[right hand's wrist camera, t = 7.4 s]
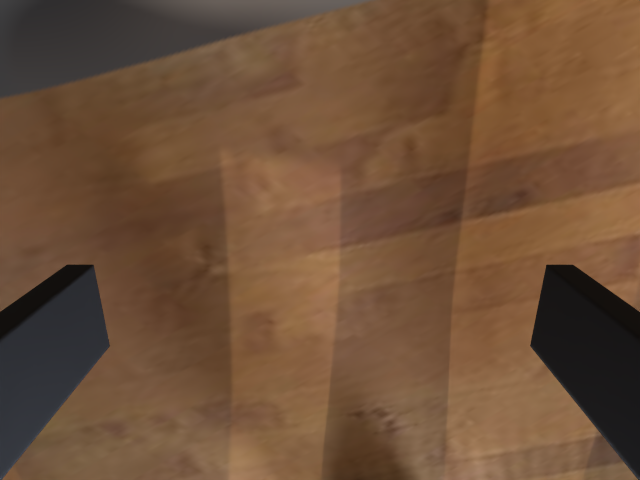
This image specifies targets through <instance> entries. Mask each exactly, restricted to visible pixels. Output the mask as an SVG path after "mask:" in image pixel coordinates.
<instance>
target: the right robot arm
mask: <svg viewBox="0 0 640 480" xmlns="http://www.w3.org/2000/svg"><path fill="white" fill-rule="evenodd" d="M109 346H110V345H109V340H108V335H107V330H106V325H105V320H104V315H103V310H102V305H101V300H100V295H99V290H98V285H97V280H96V275H95V270H94V265H66V266H65V267H63V268H62V269H60V270H59V271H58V272H56V273H55V274H53V275H52V276H51V277H49V278H48V279H46V280H45V281H43V282H42V283H41V284H39V285H38V286H36V287H35V288H34V289H32V290H31V291H29V292H28V293H26V294H25V295H24V296H22V297H21V298H19V299H18V300H17V301H15V302H14V303H12V304H11V305H10V306H8V307H7V308H5V309H4V310H2V311H1V312H0V480H2V479H3V477H4V476H5V475H6V474H7V472H8V471H9V470H10V469H11V468H12V466H13V465H14V464H15V463H16V461H17V460H18V459H19V458H20V456H21V455H22V454H23V453H24V451H25V450H26V449H27V448H28V447H29V445H30V444H31V443H32V442H33V440H34V439H35V438H36V437H37V435H38V434H39V433H40V432H41V430H42V429H43V428H44V427H45V425H46V424H47V423H48V422H49V421H50V419H51V418H52V417H53V416H54V414H55V413H56V412H57V411H58V409H59V408H60V407H61V406H62V404H63V403H64V402H65V401H66V399H67V398H68V397H69V396H70V395H71V393H72V392H73V391H74V390H75V388H76V387H77V386H78V385H79V383H80V382H81V381H82V380H83V378H84V377H85V376H86V375H87V374H88V372H89V371H90V370H91V369H92V367H93V366H94V365H95V364H96V362H97V361H98V360H99V359H100V357H101V356H102V355H103V354H104V352H105V351H106V350H107V349H108V348H109ZM530 346H531V348H532V349H533V350H534V351H535V352H536V354H537V355H538V356H539V357H540V359H541V360H542V361H543V362H544V364H545V365H546V366H547V367H548V369H549V370H550V371H551V372H552V374H553V375H554V376H555V377H556V378H557V380H558V381H559V382H560V383H561V385H562V386H563V387H564V388H565V390H566V391H567V392H568V393H569V395H570V396H571V397H572V398H573V399H574V401H575V402H576V403H577V404H578V406H579V407H580V408H581V409H582V411H583V412H584V413H585V414H586V416H587V417H588V418H589V419H590V421H591V422H592V423H593V424H594V425H595V427H596V428H597V429H598V430H599V432H600V433H601V434H602V435H603V437H604V438H605V439H606V440H607V442H608V443H609V444H610V445H611V447H612V448H613V449H614V450H615V451H616V453H617V454H618V455H619V456H620V458H621V459H622V460H623V461H624V463H625V464H626V465H627V466H628V468H629V469H630V470H631V471H632V472H633V474H634V475H635V476H636V477H637V479H638V480H640V312H639V311H638V310H636V309H635V308H633V307H632V306H630V305H629V304H628V303H626V302H625V301H623V300H622V299H621V298H619V297H618V296H616V295H615V294H614V293H612V292H611V291H609V290H608V289H606V288H605V287H604V286H602V285H601V284H599V283H598V282H597V281H595V280H594V279H592V278H591V277H589V276H588V275H587V274H585V273H584V272H582V271H581V270H580V269H578V268H577V267H575V266H574V265H546V270H545V275H544V280H543V285H542V290H541V295H540V300H539V305H538V310H537V315H536V320H535V325H534V330H533V335H532V340H531V345H530Z"/></svg>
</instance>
